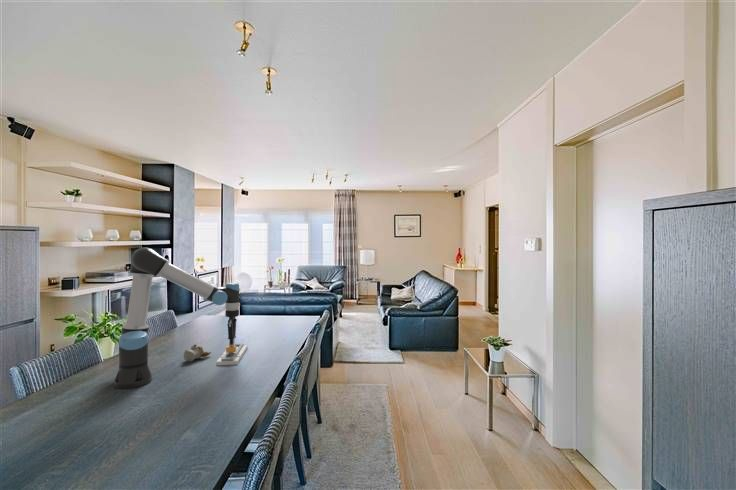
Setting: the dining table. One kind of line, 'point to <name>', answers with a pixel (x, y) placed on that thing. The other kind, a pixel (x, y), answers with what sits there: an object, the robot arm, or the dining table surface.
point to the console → (233, 359)
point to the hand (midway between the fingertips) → (231, 349)
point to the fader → (230, 350)
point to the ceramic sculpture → (195, 353)
